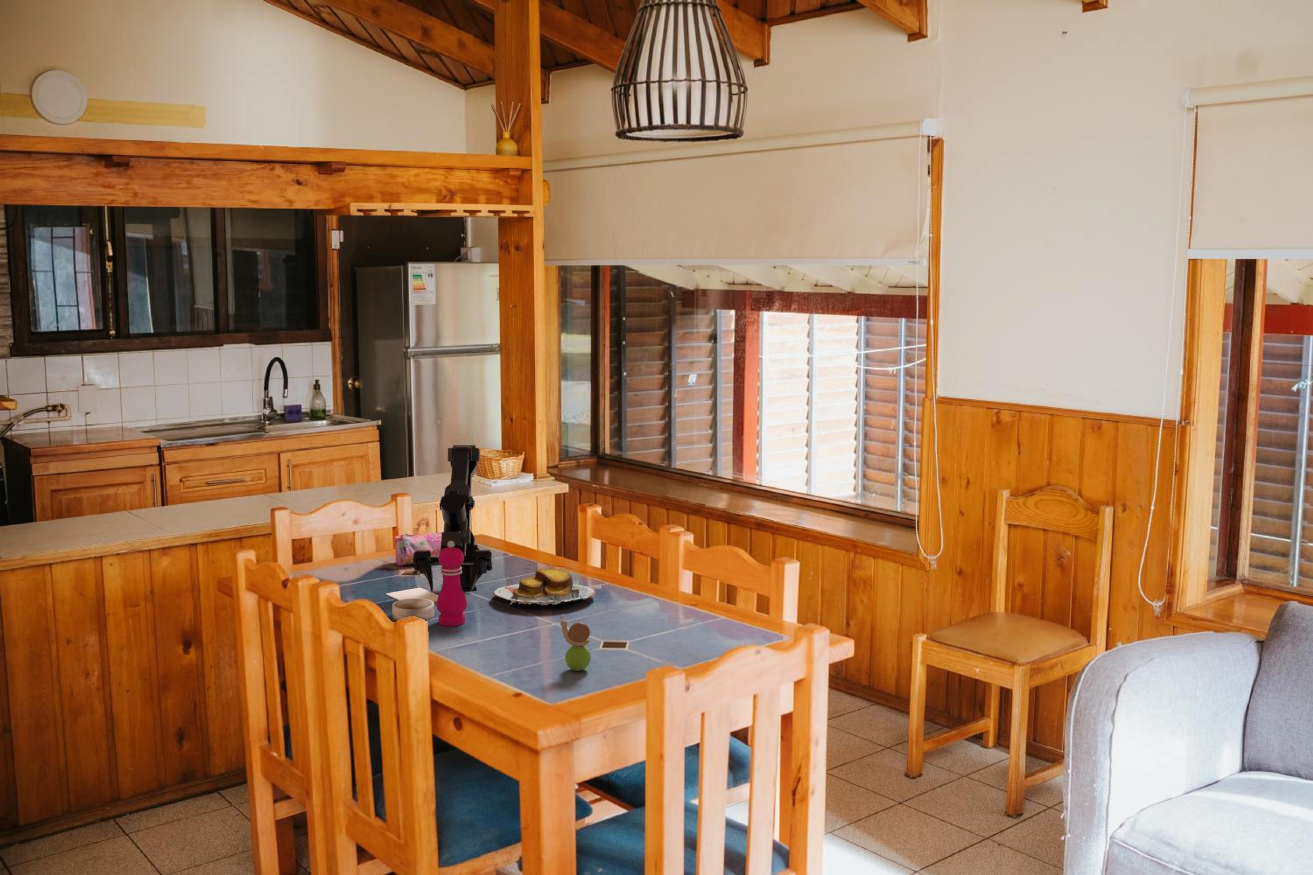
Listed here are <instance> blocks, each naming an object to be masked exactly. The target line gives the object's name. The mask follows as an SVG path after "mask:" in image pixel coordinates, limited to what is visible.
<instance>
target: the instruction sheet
mask: <svg viewBox="0 0 1313 875" xmlns="http://www.w3.org/2000/svg"><path fill="white" fill-rule="evenodd" d="M385 595H386V596H388V597H391V598H393V599H395V600H396V601H400V600H404V599H428V600H431V601H433V602H434V603H437V599H438V596H439V594H436V593H434V592H431V591H429V590H427V589H425V588H422V587H415V588H411V589H410V588H409V589H405V590H399V591H393V592H392V591H391V592H388V593H385Z"/></svg>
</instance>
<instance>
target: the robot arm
mask: <svg viewBox="0 0 1313 875" xmlns="http://www.w3.org/2000/svg"><path fill="white" fill-rule="evenodd" d="M447 462H449V463H450V467H451V475H450V483H449V484H448V485H447V486H445V488H444V494H443V495H442V496H441V498H440V500H439V501H440V502H439V510H440V511H441V514H442V521H443V532H442V533H441V532H440V533H441V548H440V551H441V550H443V549H444V548H446V547H448V546H447V544H448V542H449V541H453V542H454V544H455V546H454V547H457V548H459V549H460V550H461V551H462V552H463V555H464V561H463V563H462V564H461V567H462V569H461V571H462V573H461V574H460V584H461V588H462V590H463V592H464V591H465V592H466V591H467V592H468V591H469V592H472V591H476V590H477V589H478V588H477V586H476V585H477V583H478V581H479V579H480V578H481V577H482V575H483V574H487V572H490V571H491V572H492V570H493V565H494V564H493V562H494V561H493V552H492V551H491V549H480V548H479V545H478V544H477V541H476V540H477V539H476V537H475V536H474V534H473V532H472V530H471V518H472V517H471V516H472V515H471V512H472V511H473V510H474V508H475V505H476V503H475V502H476V501H475V499H474V496H472V478H473V477H474V475H475V474H476V473H477V471H478V468H479V464H478V463H481V449H480V448H478V447H477V446H476V444H454V445H453V446H452V447H447ZM438 557H439V556H431V552H430V550H416V551H415V552H414V553H413V563H414V564H413V567H414V570H415V571H416V572H419V574H421V575H424V576H425V578H426V581H427V582H428V586H429V590H430V592H432V593H434V580H433V579H434V576H433V567H432V566H433V565H441V564H440V563H439V560H438Z"/></svg>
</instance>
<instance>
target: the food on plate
mask: <svg viewBox="0 0 1313 875" xmlns="http://www.w3.org/2000/svg"><path fill="white" fill-rule="evenodd" d="M492 595H493V597H492V598H493V599H495V598H496V597H498V598H502V599H503V600H504V599H505V600H507V601H510V602H509V606H511V605H512V604H514V603H515V604H517V603H518V605H522V604H523V605H526V604H528V605H532V604H537V605H541V606H547V605H548V606H549V605H550V604H551V605H558V604H561V602H564V603H565V602H569V603H570V602H575V601H577V602H578V601H579V600H586V599H589V598H592V597H593V596H594V597H596V590H595V589H594V588H592V587H590V586H585V585H581V584H574V580H573V577H572V575H571V573H570V572H568V571H566V570H564V569H559V568H548V567H547V568H545V567H544V568H538V569H536V571H535V575H534V576H529V577H525V578H522V579H520V580H519V583H516V584H511V585H507V586H501V587H498V588H496V589H495V590H493V592H492Z"/></svg>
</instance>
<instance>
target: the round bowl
mask: <svg viewBox="0 0 1313 875" xmlns="http://www.w3.org/2000/svg"><path fill="white" fill-rule="evenodd" d="M391 607H392V608H391V609H392V610H391V613H392V616H391V617H392V620H393V619H394V620H395V621H397V619H399V618H405V617H408V616H416V617H418V618H422V619H425V621H428V620H431V619H433V618H434V617H435V602H433V601H431V600H428V599H404V600H400V601H399V600H396V601H395V602H393V603H392V605H391Z"/></svg>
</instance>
